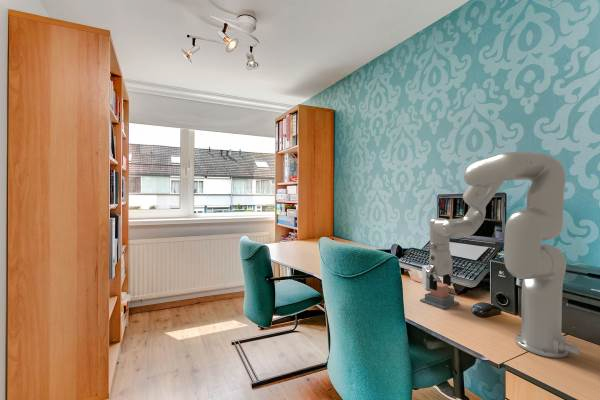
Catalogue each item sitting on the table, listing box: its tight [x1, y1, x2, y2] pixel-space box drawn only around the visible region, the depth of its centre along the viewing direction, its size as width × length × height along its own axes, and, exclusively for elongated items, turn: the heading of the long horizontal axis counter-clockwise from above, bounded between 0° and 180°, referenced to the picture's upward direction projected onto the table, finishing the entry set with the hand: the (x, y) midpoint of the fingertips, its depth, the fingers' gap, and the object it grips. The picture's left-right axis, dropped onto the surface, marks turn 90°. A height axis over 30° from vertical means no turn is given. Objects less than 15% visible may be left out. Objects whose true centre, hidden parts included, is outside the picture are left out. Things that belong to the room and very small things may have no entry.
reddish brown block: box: [430, 282, 449, 299], centre depth 126 cm, size 5×5×7 cm
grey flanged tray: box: [419, 291, 460, 311], centre depth 127 cm, size 11×11×3 cm
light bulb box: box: [421, 264, 442, 291], centre depth 145 cm, size 11×7×11 cm, turn 84°
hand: (440, 287), depth 126 cm, fingers open, 9 cm apart
